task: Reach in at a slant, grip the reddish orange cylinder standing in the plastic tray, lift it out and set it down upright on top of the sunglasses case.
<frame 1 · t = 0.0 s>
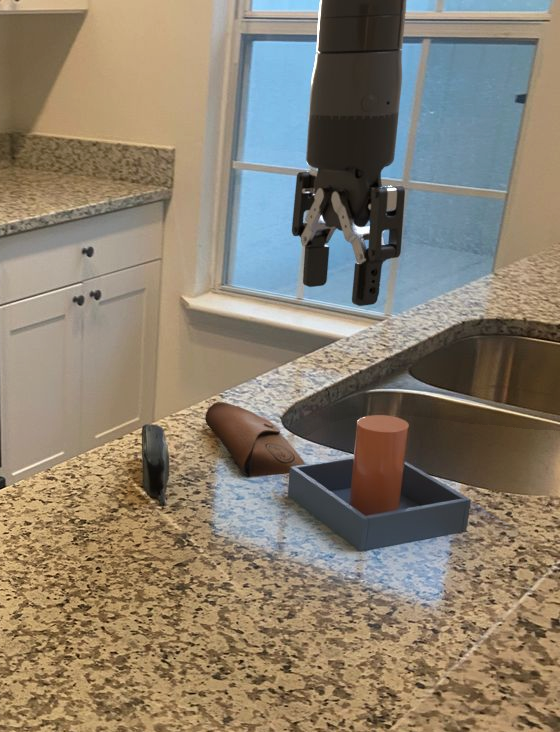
hand: (338, 294, 96), 24 cm above the table, tool pointing down, fingers open, 8 cm apart
sunglasses case: (254, 452, 126), on the table
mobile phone: (154, 483, 118), on the table
reddish orange cylinder: (373, 512, 108), resting on plastic tray
plastic tray: (372, 517, 108), on the table
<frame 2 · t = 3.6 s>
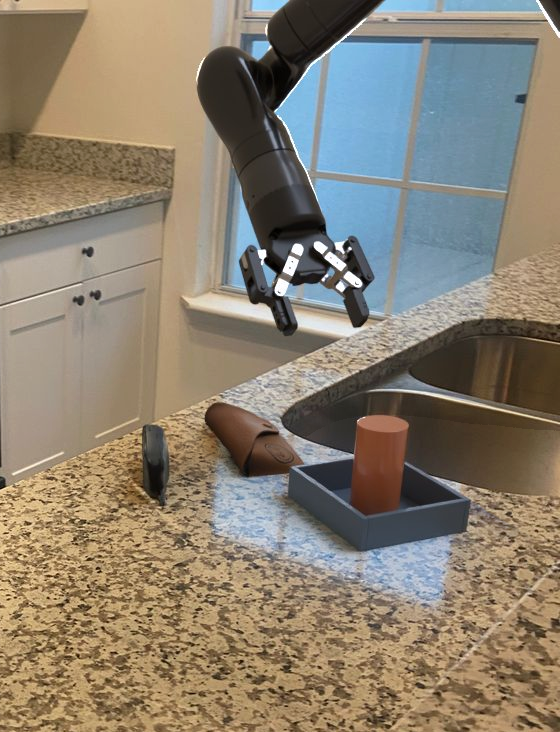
hand: (327, 328, 110), 18 cm above the table, tool tilted 45°, fingers open, 8 cm apart
nothing on the table moved.
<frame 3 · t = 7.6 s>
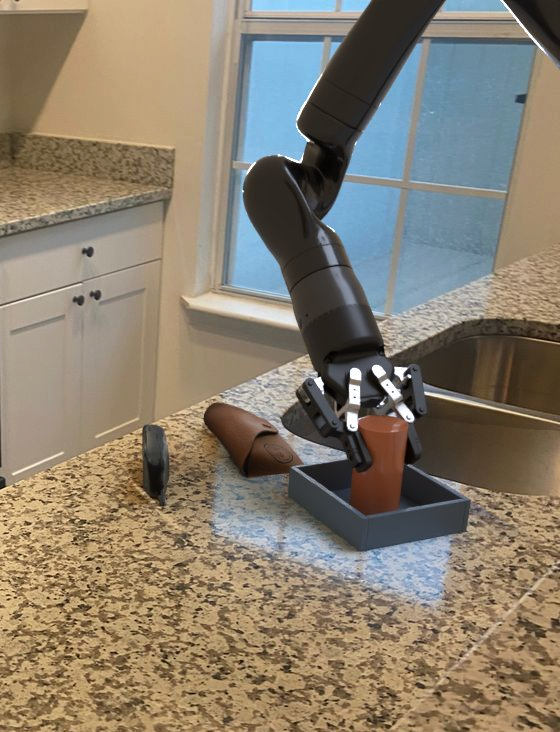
hand: (389, 464, 103), 7 cm above the table, tool tilted 45°, fingers closed on reddish orange cylinder, 5 cm apart
reddish orange cylinder: (373, 512, 108), point 1 cm above the table, touching gripper, plastic tray
everything else where it was.
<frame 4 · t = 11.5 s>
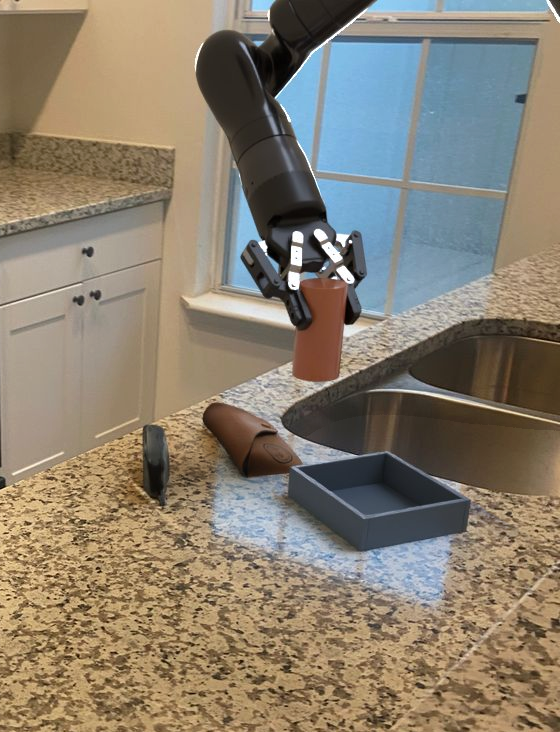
hand: (329, 323, 107), 19 cm above the table, tool tilted 45°, fingers closed on reddish orange cylinder, 5 cm apart
reddish orange cylinder: (315, 374, 111), point 13 cm above the table, touching gripper
everything else where it was.
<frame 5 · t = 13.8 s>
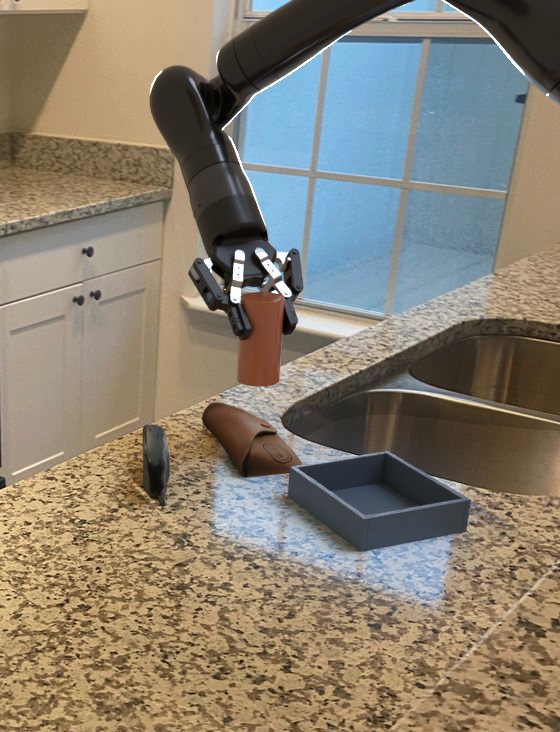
hand: (268, 333, 118), 15 cm above the table, tool tilted 45°, fingers closed on reddish orange cylinder, 5 cm apart
reddish orange cylinder: (257, 380, 122), point 9 cm above the table, touching gripper
everything else where it was.
when the fingers open (11 cm above the table, at t = 15.6 s): reddish orange cylinder stays where it is, resting on sunglasses case.
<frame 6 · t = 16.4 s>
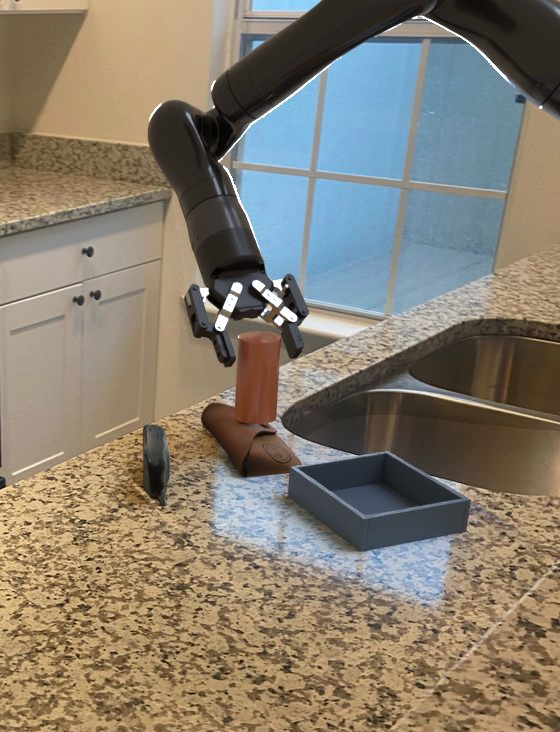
hand: (264, 359, 120), 12 cm above the table, tool tilted 45°, fingers open, 8 cm apart
sunglasses case: (251, 452, 126), on the table, touching reddish orange cylinder
reddish orange cylinder: (255, 417, 124), point 4 cm above the table, touching sunglasses case
everything else where it was.
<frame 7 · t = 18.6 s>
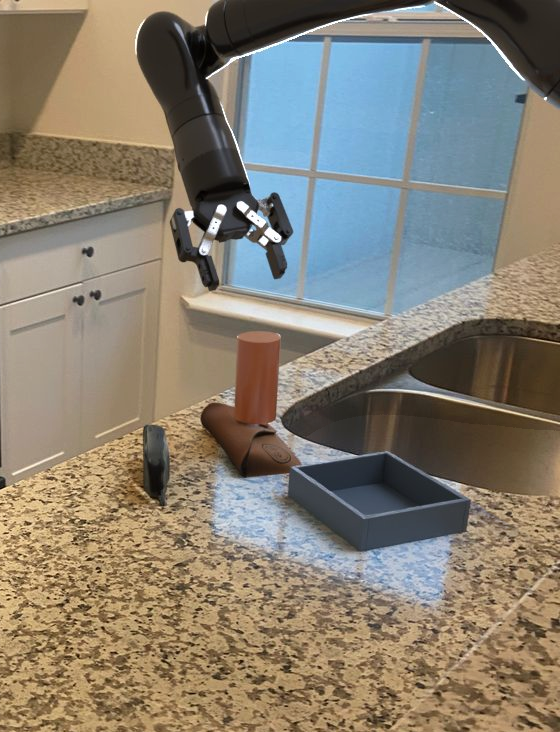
hand: (247, 282, 123), 19 cm above the table, tool tilted 40°, fingers open, 8 cm apart
nothing on the table moved.
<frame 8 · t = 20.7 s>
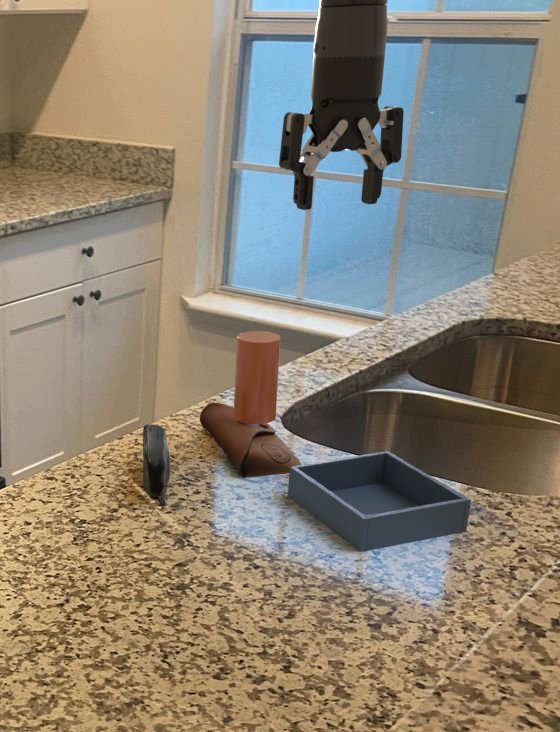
hand: (336, 206, 118), 28 cm above the table, tool pointing down, fingers open, 8 cm apart
nothing on the table moved.
at the end: reddish orange cylinder inside the target area (0.2 cm from its centre), point 4.4 cm above the table; reddish orange cylinder tilted 0°; the gripper is holding nothing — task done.
